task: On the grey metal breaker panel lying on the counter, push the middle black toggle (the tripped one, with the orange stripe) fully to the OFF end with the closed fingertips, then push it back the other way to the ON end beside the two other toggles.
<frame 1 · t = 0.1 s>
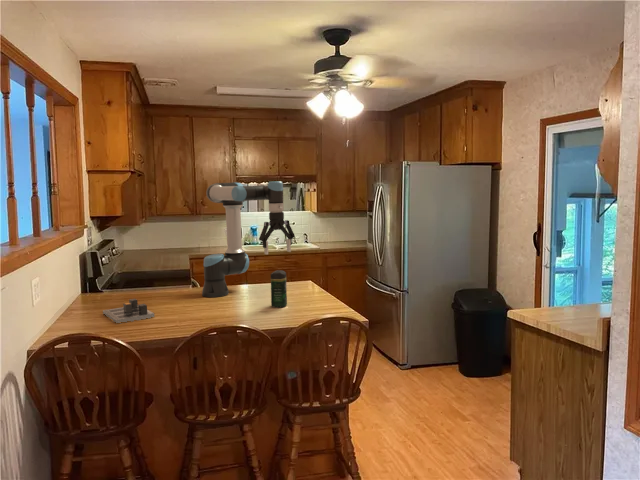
hand: (277, 252, 263), 28 cm above the kitchen counter, fingers open, 13 cm apart
tripped breaker: (127, 307, 254), point 4 cm above the kitchen counter, slide at 0.0 cm
coffee jar: (279, 306, 267), on the kitchen counter
breaker panel: (128, 315, 254), on the kitchen counter
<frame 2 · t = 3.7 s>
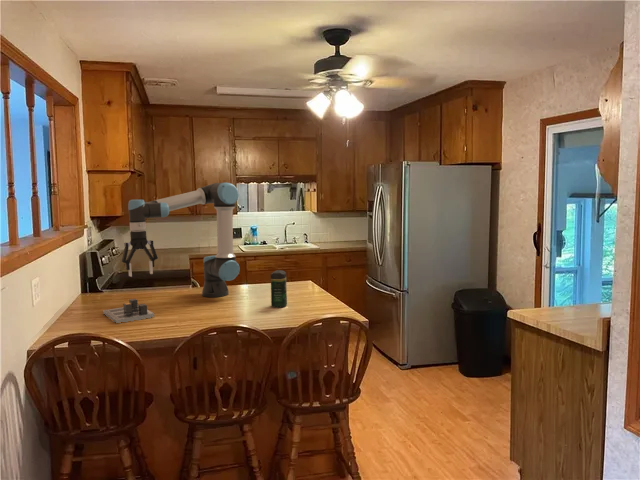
hand: (141, 274, 256), 20 cm above the kitchen counter, fingers open, 10 cm apart
nothing on the kitchen counter moved.
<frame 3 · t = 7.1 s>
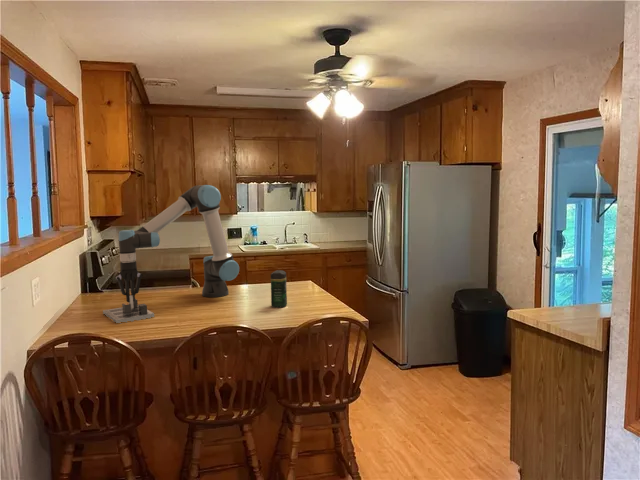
hand: (131, 308, 255), 4 cm above the kitchen counter, fingers closed
tripped breaker: (126, 307, 253), point 4 cm above the kitchen counter, slide at -0.6 cm, touching gripper
everything else where it was.
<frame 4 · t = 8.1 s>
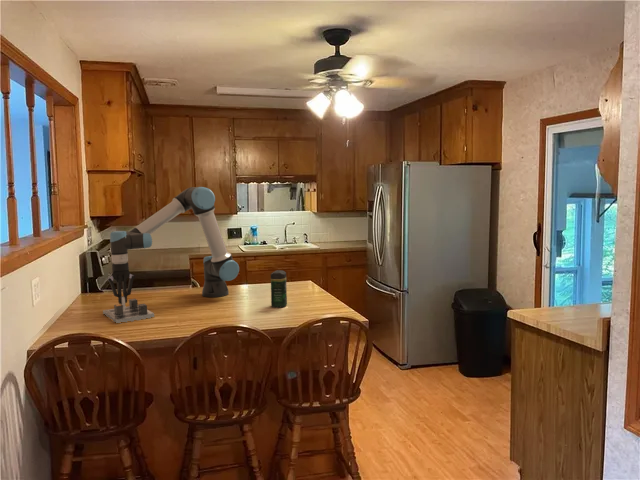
hand: (123, 309, 252), 3 cm above the kitchen counter, fingers closed
tripped breaker: (118, 309, 251), point 4 cm above the kitchen counter, slide at -4.4 cm, touching gripper
everything else where it was.
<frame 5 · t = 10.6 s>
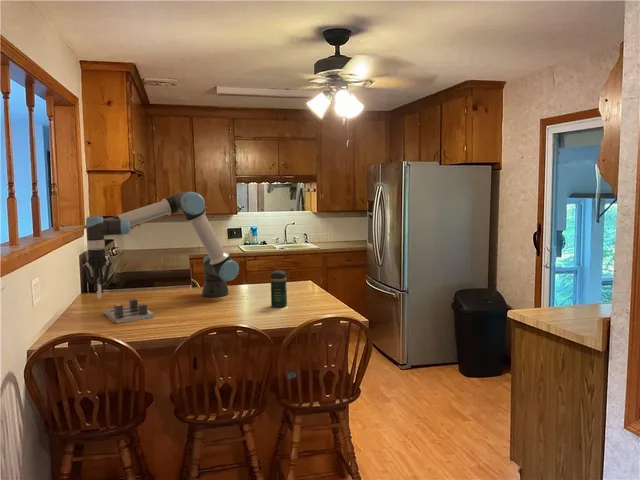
hand: (99, 297, 245), 11 cm above the kitchen counter, fingers closed
tripped breaker: (118, 309, 251), point 4 cm above the kitchen counter, slide at -4.4 cm
everything else where it was.
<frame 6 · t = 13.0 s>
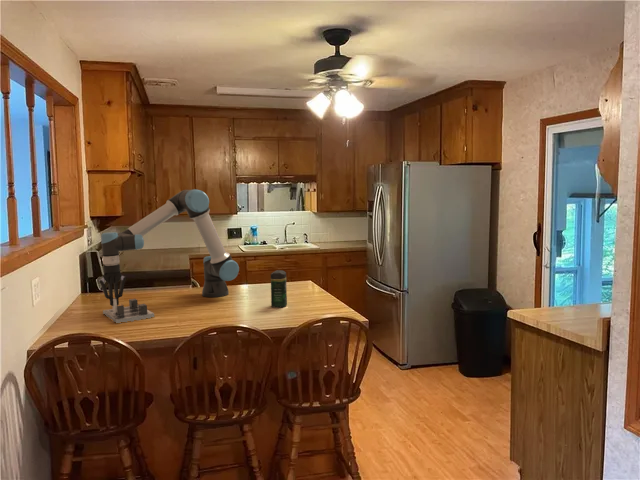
hand: (115, 311, 250), 3 cm above the kitchen counter, fingers closed
tripped breaker: (119, 308, 251), point 4 cm above the kitchen counter, slide at -3.9 cm, touching gripper
everything else where it was.
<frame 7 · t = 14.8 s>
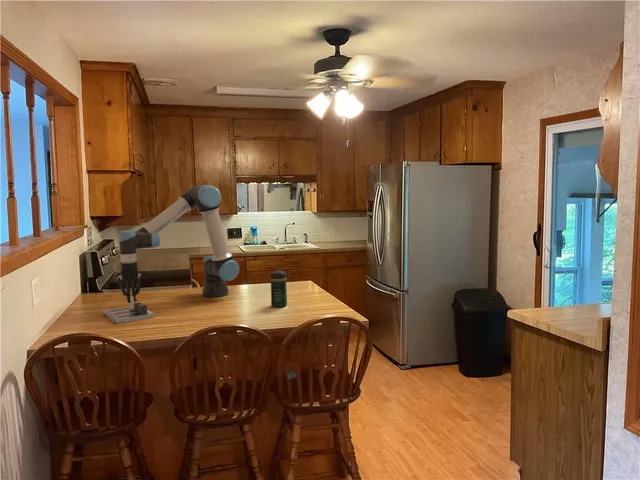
hand: (132, 308, 255), 3 cm above the kitchen counter, fingers closed
tripped breaker: (136, 306, 256), point 4 cm above the kitchen counter, slide at 4.3 cm, touching gripper
everything else where it was.
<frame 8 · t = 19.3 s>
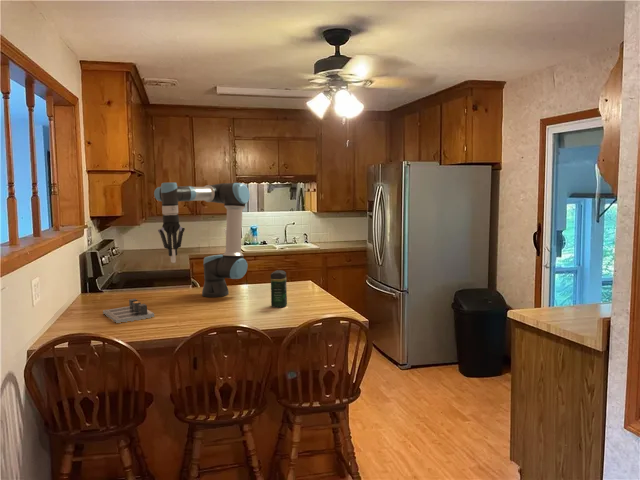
hand: (173, 262, 250), 26 cm above the kitchen counter, fingers closed
tripped breaker: (136, 306, 256), point 4 cm above the kitchen counter, slide at 4.4 cm
everything else where it was.
at the end: tripped breaker slide at 4.4 cm; the gripper is holding nothing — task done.
